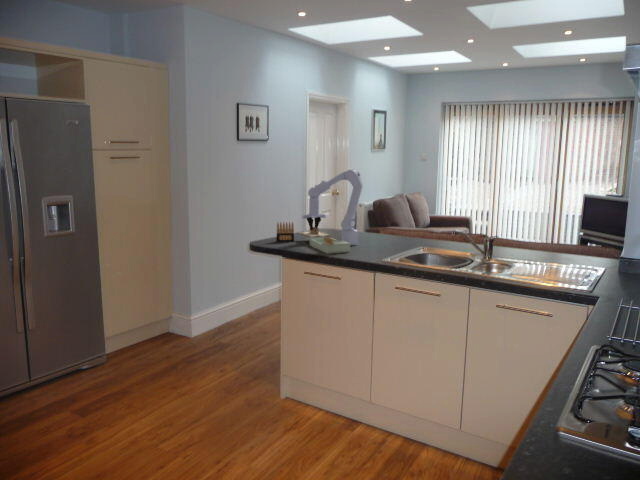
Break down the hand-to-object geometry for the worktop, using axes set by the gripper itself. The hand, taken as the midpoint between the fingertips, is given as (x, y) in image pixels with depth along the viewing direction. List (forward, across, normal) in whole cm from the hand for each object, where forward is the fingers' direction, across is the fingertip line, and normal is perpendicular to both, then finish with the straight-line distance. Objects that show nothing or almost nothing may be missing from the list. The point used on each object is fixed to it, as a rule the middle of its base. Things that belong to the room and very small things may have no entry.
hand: (313, 229), depth 314 cm
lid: (+3, 0, +1) cm, 3 cm away
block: (+2, +6, +34) cm, 34 cm away
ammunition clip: (+8, +16, -6) cm, 19 cm away
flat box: (+7, 0, +23) cm, 24 cm away
